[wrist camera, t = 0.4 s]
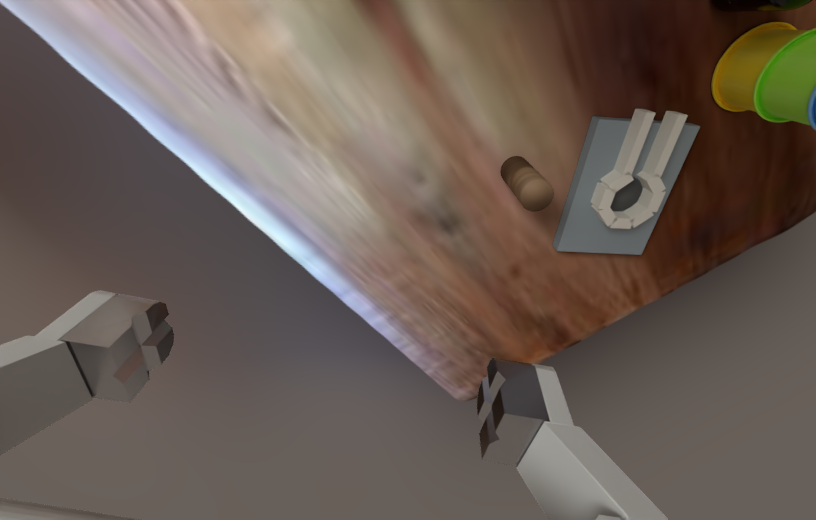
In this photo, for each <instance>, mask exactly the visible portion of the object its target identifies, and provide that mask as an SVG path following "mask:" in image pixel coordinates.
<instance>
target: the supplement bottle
mask: <svg viewBox="0 0 816 520" xmlns="http://www.w3.org/2000/svg"><path fill="white" fill-rule="evenodd" d="M711 1H712V3H713V4H714V6H715V7H717V8H718V9H720V10H722V11H727V12H742V11H784V10H792V9H796V8H799V7H801V6H804V5H806V4H807V3H809V2H811V1H812V0H711Z"/></svg>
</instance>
